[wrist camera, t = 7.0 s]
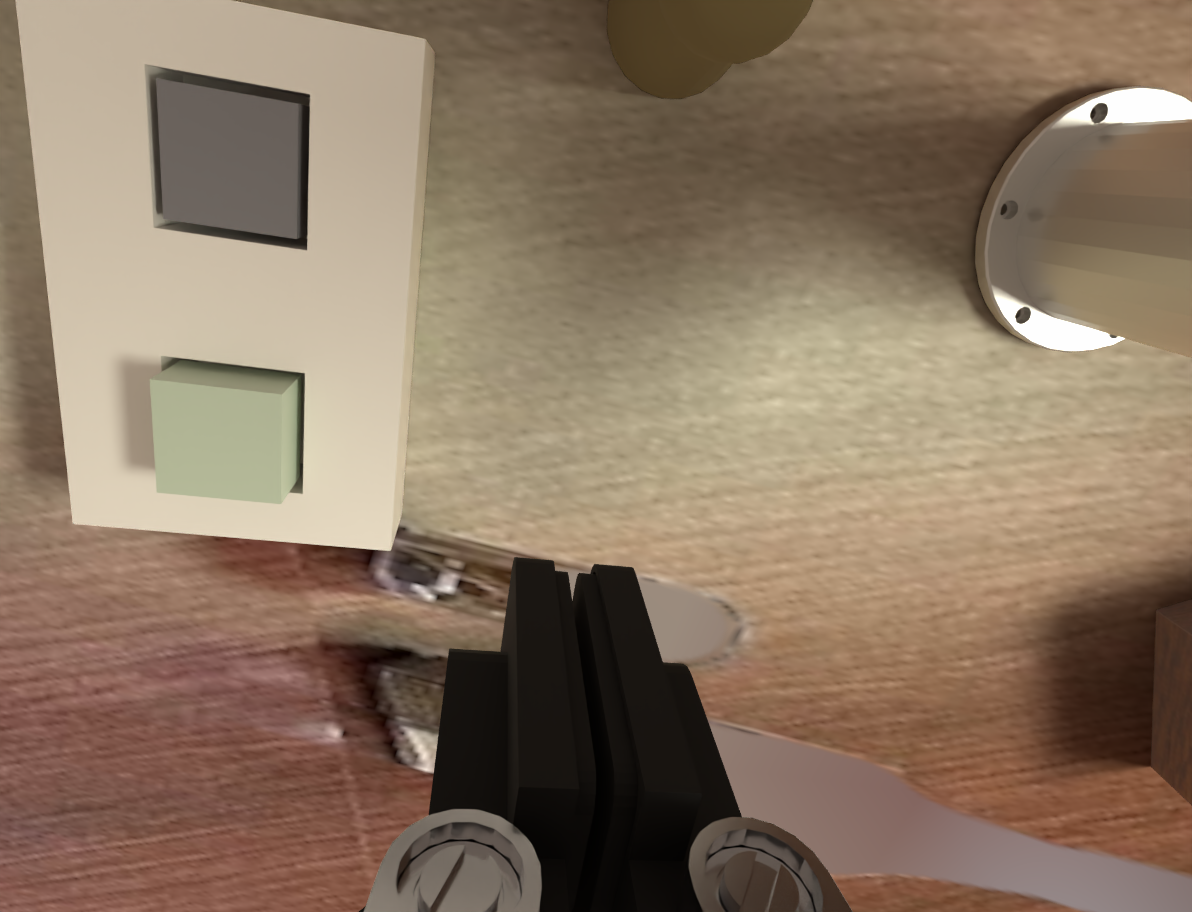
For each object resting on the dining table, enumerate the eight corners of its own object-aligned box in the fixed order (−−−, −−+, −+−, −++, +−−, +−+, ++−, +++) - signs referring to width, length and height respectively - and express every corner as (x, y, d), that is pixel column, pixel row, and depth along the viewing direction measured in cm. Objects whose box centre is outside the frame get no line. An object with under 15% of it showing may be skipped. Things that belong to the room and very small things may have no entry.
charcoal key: (317, 108, 30) (298, 103, 27) (315, 232, 32) (296, 239, 29) (189, 85, 29) (155, 78, 27) (194, 213, 31) (162, 219, 28)
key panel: (435, 53, 31) (425, 38, 27) (402, 513, 39) (390, 550, 35) (75, -18, 28) (10, -44, 25) (117, 486, 36) (72, 523, 33)
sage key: (301, 374, 32) (281, 394, 30) (299, 476, 34) (281, 504, 31) (181, 360, 31) (149, 379, 29) (186, 465, 33) (156, 492, 30)
